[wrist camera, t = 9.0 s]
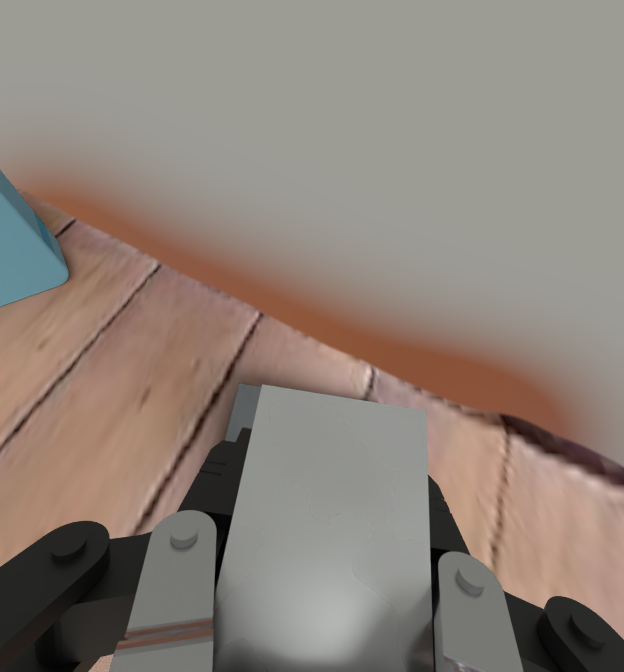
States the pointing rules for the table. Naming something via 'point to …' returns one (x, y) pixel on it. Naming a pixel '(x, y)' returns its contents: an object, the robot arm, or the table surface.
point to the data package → (26, 249)
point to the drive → (328, 541)
